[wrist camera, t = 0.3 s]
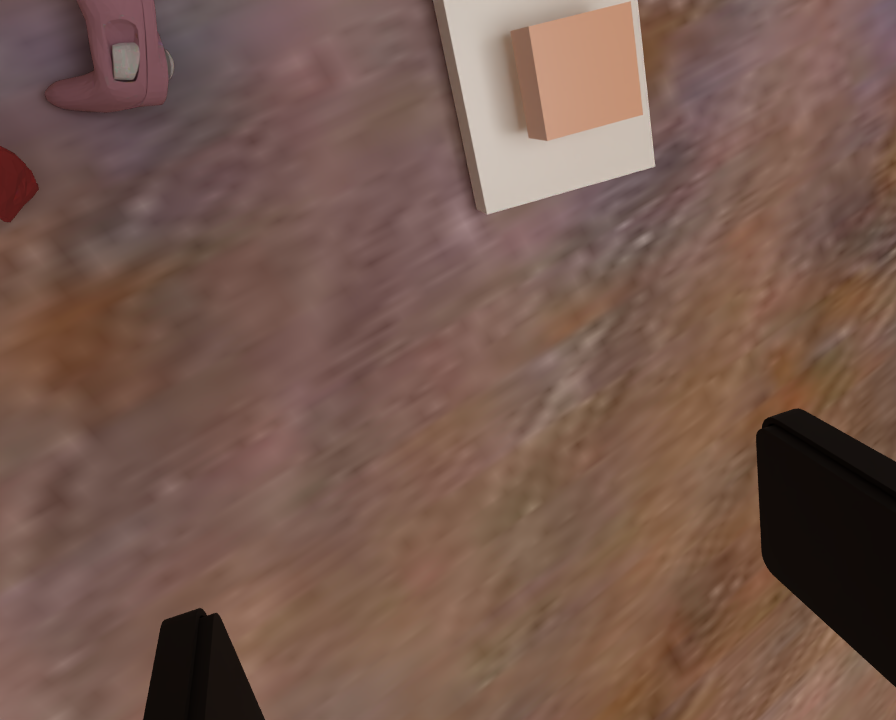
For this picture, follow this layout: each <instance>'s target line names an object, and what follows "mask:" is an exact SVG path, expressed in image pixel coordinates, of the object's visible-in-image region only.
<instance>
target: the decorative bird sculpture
mask: <svg viewBox="0 0 896 720" xmlns="http://www.w3.org/2000/svg"><path fill="white" fill-rule="evenodd" d="M38 190H39V187H38V184H37V183H36V180H35V178H34V176H33V173H32V171H31V170H30V169H29V168H28V167H27V166H26V164H25V163H24V162H23V161H22V160H21V159H20V158H19V157H18V156H16V155H15V154H14V153H13V152H11V151H9V150H7V149H5V148H3V147H1V146H0V219H1V220H3V221H4V222H11V221H12V220H13V218H14V217H15V216H16V215H17V213H18V212H19V211H20V210H21V208H22V207H23V206H24V205H25V204H26V203H27V202H28V201H29V200H30V199H31V198H33V196H34V195H35V194H36V192H37V191H38Z"/></svg>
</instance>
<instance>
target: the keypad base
mask: <svg viewBox="0 0 896 720" xmlns="http://www.w3.org/2000/svg"><path fill="white" fill-rule="evenodd" d="M630 1H631V8H632V17H633V26H634V35H635V44H636V54H637V63H638V72H639V81H640V90H641V99H642V108H643V115H640V116H637V117H633V118H629V119H626V120H622V121H618V122H615V123H611V124H607V125H604V126H600V127H596V128H593V129H589V130H585V131H582V132H578V133H574V134H571V135H567V136H564V137H560V138H556V139H553V140H549V141H544V140H538V139H531V138H529V137H528V131H527V126H526V120H525V114H524V108H523V103H522V97H521V91H520V85H519V79H518V74H517V68H516V62H515V56H514V51H513V45H512V39H511V33H510V31H513V30H517V29H521V28H525V27H529V26H533V25H537V24H541V23H545V22H549V21H553V20H557V19H561V18H565V17H569V16H573V15H577V14H581V13H585V12H589V11H593V10H597V9H601V8H605V7H610V6H614V5H618V4H622V3H626V2H630ZM433 4H434V9H435V13H436V18H437V23H438V28H439V32H440V37H441V42H442V47H443V51H444V56H445V61H446V66H447V70H448V75H449V80H450V85H451V90H452V94H453V99H454V104H455V109H456V113H457V118H458V123H459V128H460V132H461V137H462V142H463V147H464V151H465V156H466V161H467V166H468V171H469V175H470V180H471V185H472V190H473V194H474V199H475V204H476V209H477V210H479V211H481V212H483V213H485V214H491V213H494V212H498V211H501V210H505V209H508V208H512V207H515V206H519V205H522V204H526V203H529V202H533V201H536V200H540V199H543V198H547V197H550V196H554V195H557V194H561V193H564V192H568V191H571V190H575V189H578V188H582V187H585V186H589V185H592V184H596V183H599V182H603V181H606V180H610V179H613V178H617V177H620V176H624V175H627V174H631V173H634V172H638V171H641V170H645V169H648V168H652V167H655V161H654V151H653V142H652V132H651V123H650V113H649V104H648V94H647V85H646V76H645V66H644V57H643V47H642V38H641V28H640V19H639V9H638V0H433Z"/></svg>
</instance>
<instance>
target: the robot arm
mask: <svg viewBox="0 0 896 720" xmlns="http://www.w3.org/2000/svg"><path fill="white" fill-rule="evenodd" d="M756 447H757V467H758V487H759V508H760V528H761V549H762V557H763V560H764V562H765V564H766V566H767V568H768V569H769V571H770V572H771V573H772V574H773V575H774V576H775V577H776V578H777V579H778V580H779V581H780V582H781V583H782V584H783V585H785V586H786V587H787V588H788V589H789V590H790V591H791V592H792V593H793V594H794V595H795V596H797V597H798V598H799V599H800V600H801V601H802V602H803V603H804V604H805V605H806V606H807V607H809V608H810V609H811V610H812V611H813V612H814V613H815V614H816V615H817V616H818V617H819V618H821V619H822V620H823V621H824V622H825V623H826V624H827V625H828V626H829V627H830V628H832V629H833V630H834V631H835V632H836V633H837V634H838V635H839V636H840V637H841V638H842V639H844V640H845V641H846V642H847V643H848V644H849V645H850V646H851V647H852V648H853V649H854V650H856V651H857V652H858V653H859V654H860V655H861V656H862V657H863V658H864V659H865V660H866V661H868V662H869V663H870V664H871V665H872V666H873V667H874V668H875V669H876V670H877V671H878V672H880V673H881V674H882V675H883V676H884V677H885V678H886V679H887V680H888V681H889V682H891V683H892V684H893V685H894V686H895V687H896V462H895V461H893V460H892V459H890V458H888V457H886V456H884V455H883V454H881V453H879V452H877V451H876V450H874V449H872V448H870V447H868V446H867V445H865V444H863V443H861V442H860V441H858V440H856V439H854V438H852V437H851V436H849V435H847V434H845V433H843V432H842V431H840V430H838V429H836V428H835V427H833V426H831V425H829V424H827V423H826V422H824V421H822V420H820V419H819V418H817V417H815V416H813V415H811V414H810V413H808V412H806V411H804V410H802V409H792V410H789V411H786V412H783V413H780V414H777V415H774V416H771V417H768V418H767V419H765V420H764V422H763V424H762V429H760V430H759V431H758V432H757V434H756ZM143 720H265V719H264V716H263V714H262V712H261V709H260V707H259V705H258V702H257V700H256V698H255V696H254V693H253V691H252V689H251V686H250V684H249V682H248V679H247V677H246V675H245V672H244V670H243V668H242V666H241V663H240V661H239V659H238V656H237V654H236V652H235V649H234V647H233V645H232V642H231V640H230V638H229V636H228V633H227V631H226V629H225V626H224V624H223V622H222V619H221V617H220V616H219V614H218V613H214V614H211V615H208V616H207V615H206V613H205V611H204V610H203V609H201V608H198V609H195V610H192V611H189V612H186V613H184V614H181V615H178V616H175V617H172V618H169V619H166V620H164V621H163V622H162V625H161V628H160V633H159V639H158V644H157V649H156V655H155V660H154V665H153V670H152V676H151V681H150V686H149V692H148V697H147V702H146V708H145V713H144V718H143Z"/></svg>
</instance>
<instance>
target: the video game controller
mask: <svg viewBox="0 0 896 720" xmlns="http://www.w3.org/2000/svg"><path fill="white" fill-rule="evenodd" d="M77 3H78V5H79V7H80V9H81V12H82V14H83V16H84V18H85V20H86V26H87V32H88V39H89V45H90V51H91V56H92V61H93V65H94V71H92V72H90V73H88V74H85V75H83V76H78V77H73V78H68V79H64V80H59V81H56V82H55V83H53V84H52V85H50V86H49V87H48V88H47V90H46V92H45V97H46V99H47V100H48V101H49V102H50V103H51V104H53V105H55V106H57V107H60V108H64V109H68V110H77V111H88V112H114V111H120V110H126V109H131V108H136V107H141V106H153V105H162V104H163V103H164V102H165V100H166V97H167V90H168V80H169V79H170V78H171V77H172V75H173V72H174V62H173V59H172V58H171V55H170V54H169V52H168V51H167V50H166V49H164V47H163V44H162V41H161V39H160V36H159V34H158V32H157V24H156V12H155V5H154V0H77Z"/></svg>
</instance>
